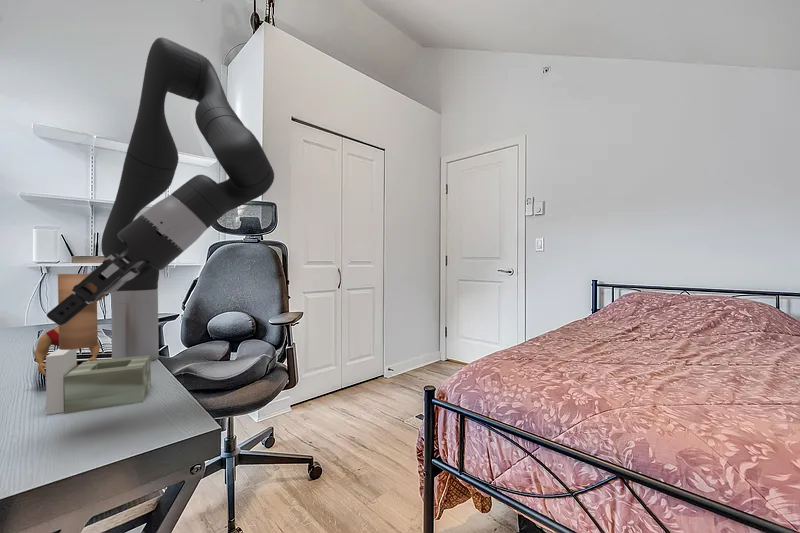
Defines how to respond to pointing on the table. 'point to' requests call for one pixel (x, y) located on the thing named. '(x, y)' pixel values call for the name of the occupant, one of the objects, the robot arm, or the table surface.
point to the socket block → (107, 383)
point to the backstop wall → (58, 378)
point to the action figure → (53, 339)
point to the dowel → (77, 317)
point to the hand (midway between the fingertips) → (59, 318)
